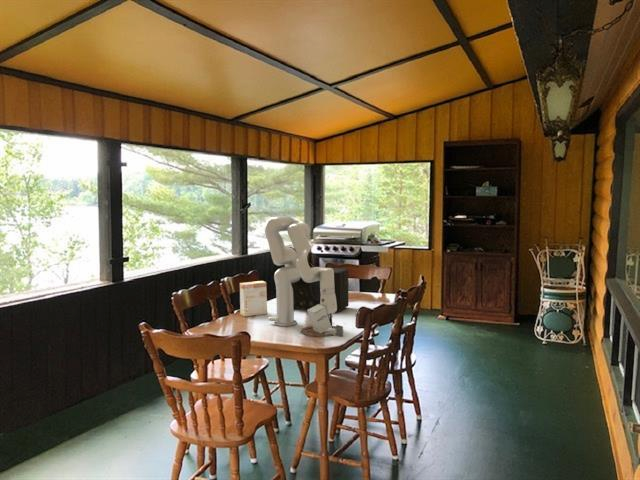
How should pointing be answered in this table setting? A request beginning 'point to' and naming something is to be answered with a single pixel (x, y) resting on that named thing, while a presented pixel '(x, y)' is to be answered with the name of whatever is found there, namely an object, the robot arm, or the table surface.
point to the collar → (338, 332)
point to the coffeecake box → (253, 298)
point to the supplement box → (319, 318)
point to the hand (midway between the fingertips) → (328, 325)
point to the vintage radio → (310, 292)
